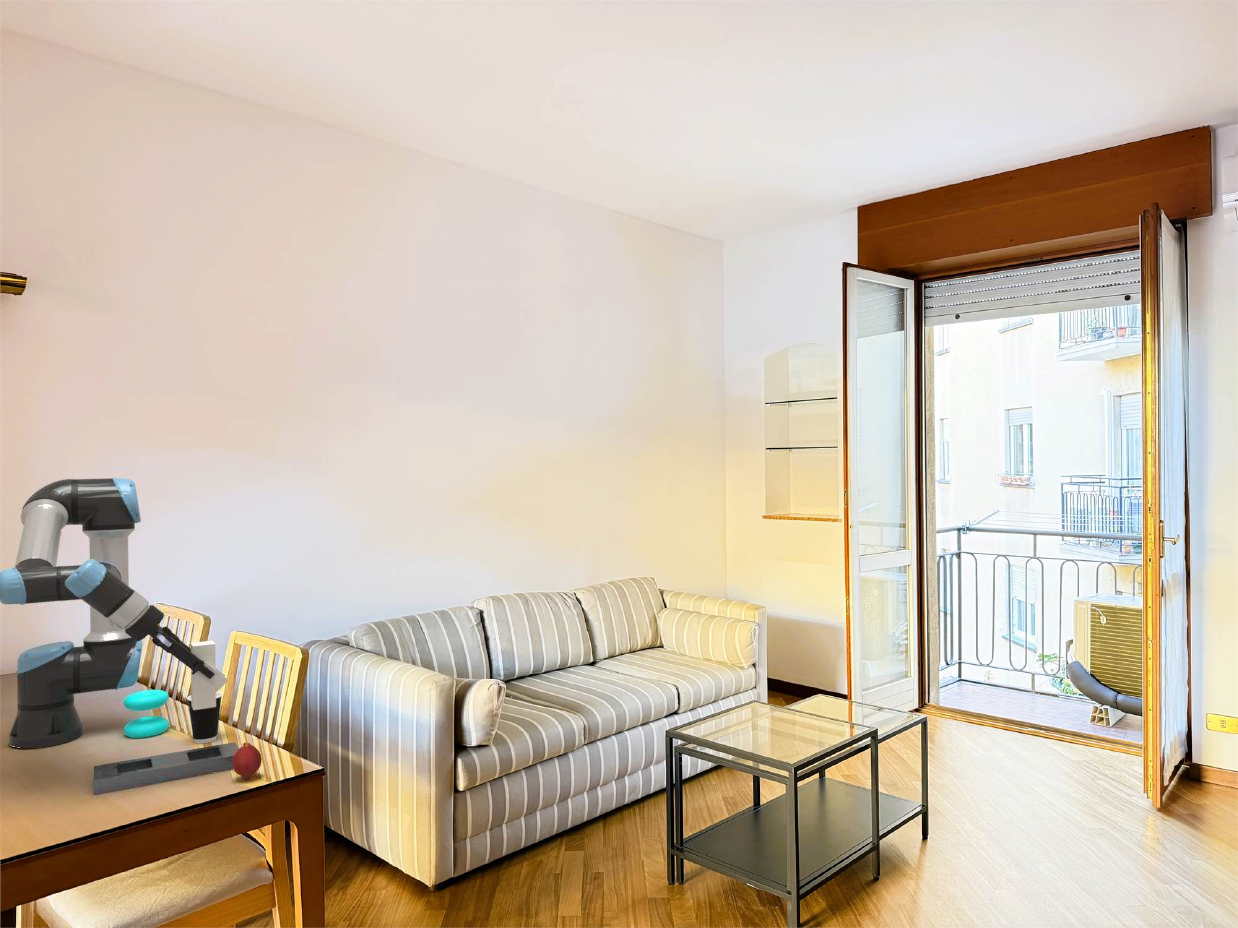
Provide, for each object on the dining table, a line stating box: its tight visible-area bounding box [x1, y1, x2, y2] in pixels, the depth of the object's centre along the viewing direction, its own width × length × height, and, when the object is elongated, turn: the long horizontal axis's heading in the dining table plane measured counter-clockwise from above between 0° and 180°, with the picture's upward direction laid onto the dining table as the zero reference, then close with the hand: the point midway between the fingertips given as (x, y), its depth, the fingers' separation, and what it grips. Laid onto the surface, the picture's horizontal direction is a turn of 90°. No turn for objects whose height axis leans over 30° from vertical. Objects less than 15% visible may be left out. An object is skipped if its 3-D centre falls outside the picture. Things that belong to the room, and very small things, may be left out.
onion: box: [232, 741, 263, 780], centre depth 181 cm, size 6×6×8 cm
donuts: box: [123, 689, 170, 739], centre depth 214 cm, size 10×10×10 cm
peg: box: [190, 640, 217, 710], centre depth 188 cm, size 4×4×14 cm
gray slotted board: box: [93, 741, 240, 796], centre depth 185 cm, size 28×10×3 cm, turn 122°
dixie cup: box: [186, 691, 223, 744], centre depth 208 cm, size 8×8×11 cm
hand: (221, 682), depth 190 cm, fingers closed on peg, 4 cm apart
